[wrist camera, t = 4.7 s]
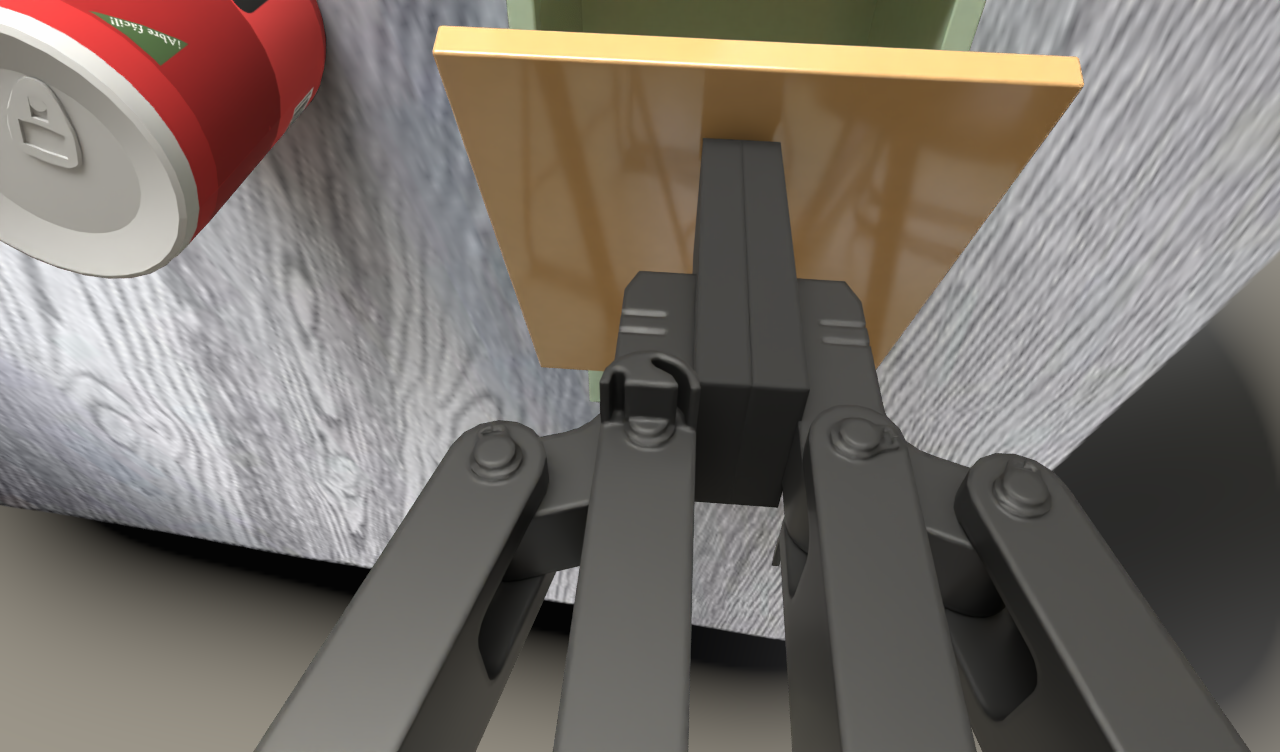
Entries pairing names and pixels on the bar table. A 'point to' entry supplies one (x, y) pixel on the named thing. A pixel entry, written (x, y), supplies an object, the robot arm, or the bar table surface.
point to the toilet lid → (741, 110)
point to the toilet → (765, 20)
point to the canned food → (141, 119)
